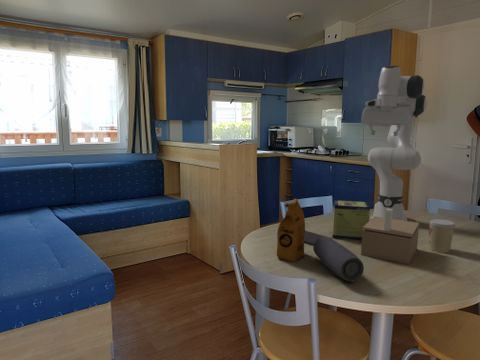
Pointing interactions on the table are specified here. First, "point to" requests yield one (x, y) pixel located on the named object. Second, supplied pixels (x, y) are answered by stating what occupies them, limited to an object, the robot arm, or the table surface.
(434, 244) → the coffee cup
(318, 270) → the table surface
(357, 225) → the protein box
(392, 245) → the carton
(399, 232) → the carton lid
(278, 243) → the coffee package
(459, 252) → the table surface
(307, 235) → the notebook
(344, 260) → the bluetooth speaker
